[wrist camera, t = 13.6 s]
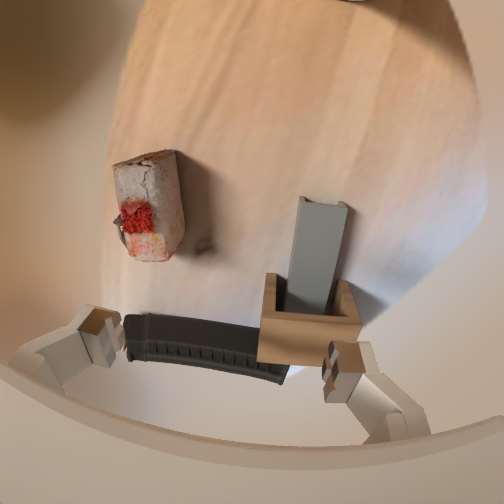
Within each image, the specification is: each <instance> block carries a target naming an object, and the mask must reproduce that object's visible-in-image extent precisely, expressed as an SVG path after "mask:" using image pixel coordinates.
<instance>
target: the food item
mask: <svg viewBox="0 0 504 504" xmlns="http://www.w3.org/2000/svg"><path fill="white" fill-rule="evenodd" d="M112 168H113V171H114V181H115V188H116V195H117V200H118V206H119V210H120V215H119V216H118V218H117V219H115V220H114V221H115V222H114V221H113V223H114V224H117V228H118V233H119V236H120V239H121V241H122V242H123V244H124V245H125V247H126V248H127V249H128V251H129V255H130V256H131V257H133V258H135V260H140V261H143V262H153V261H158V262H165V261H169V259H170V258H171V257H172V256H173V254H174V253H175V252H174V251H175V250H176V249H177V248H178V246H179V244H181V242H180V241H181V240H182V238H183V236H184V234H185V233H186V231H185V218H184V213H183V206H182V200H181V191H180V182H179V177H178V170H177V163H176V154H175V151H174V150H166V149H165V150H162V151H158V152H152V153H148V154H144V155H141V156H138V157H135V158H133V159H130V160H128V161H123V162H120V163H117V164H114V165H113V166H112ZM120 226H123V227H122V229H123V230H122V231H121V230H120Z"/></svg>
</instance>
